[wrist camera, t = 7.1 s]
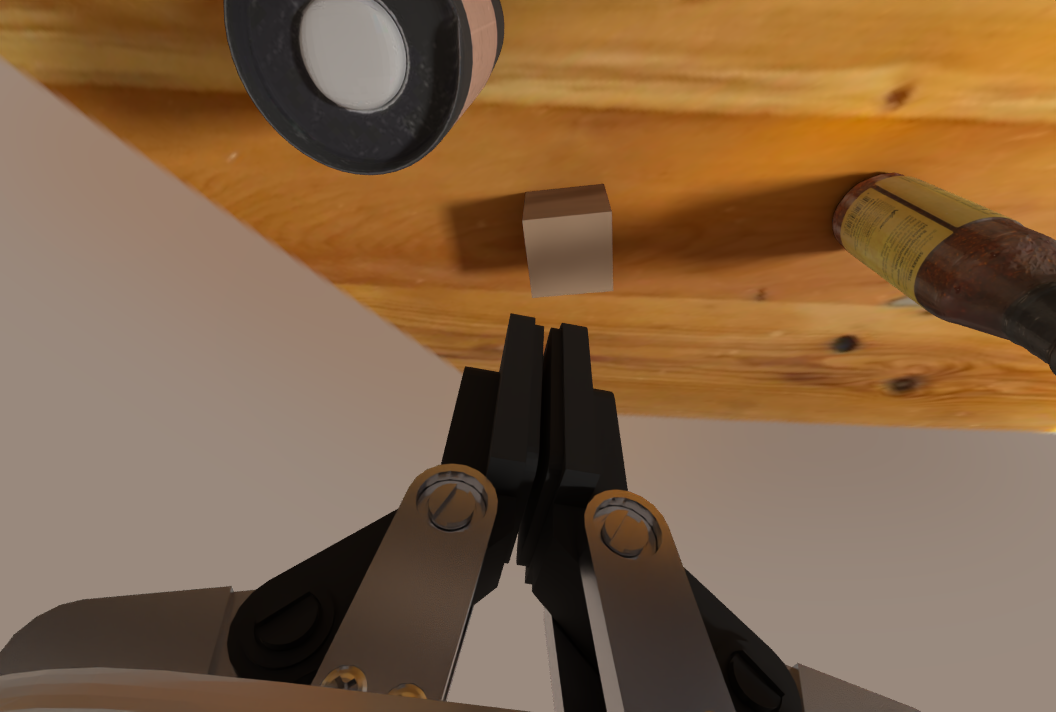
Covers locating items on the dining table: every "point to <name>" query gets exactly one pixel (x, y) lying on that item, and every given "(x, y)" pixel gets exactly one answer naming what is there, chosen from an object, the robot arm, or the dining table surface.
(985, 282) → the sauce bottle
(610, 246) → the grey cube
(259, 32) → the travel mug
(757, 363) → the dining table surface
